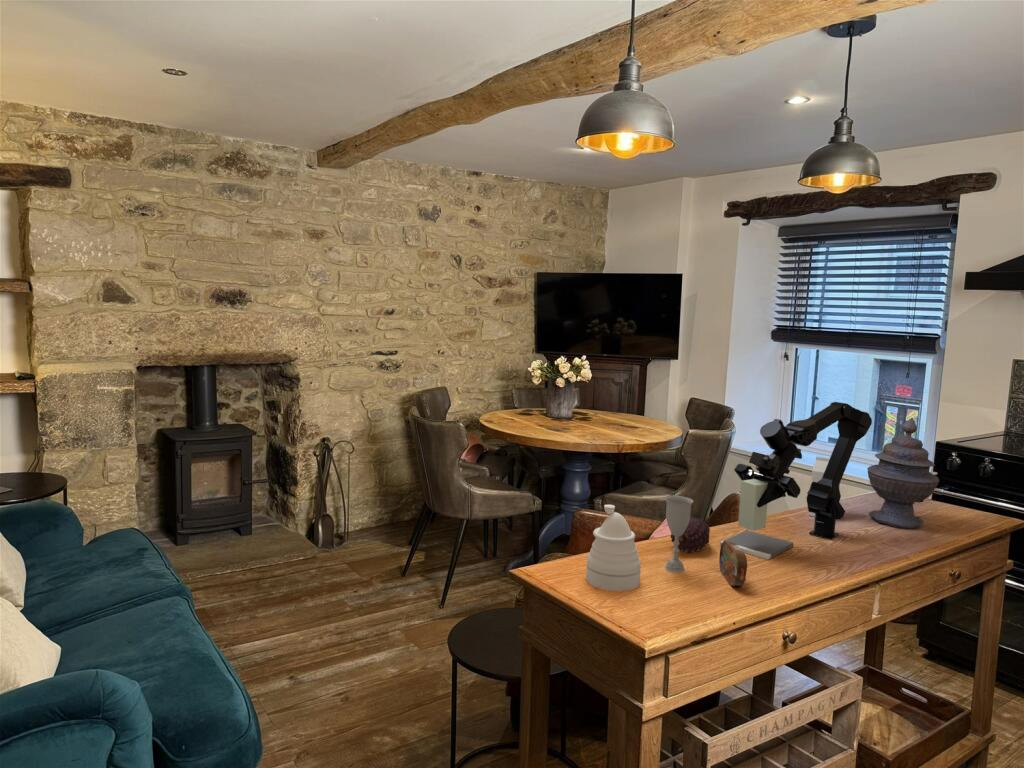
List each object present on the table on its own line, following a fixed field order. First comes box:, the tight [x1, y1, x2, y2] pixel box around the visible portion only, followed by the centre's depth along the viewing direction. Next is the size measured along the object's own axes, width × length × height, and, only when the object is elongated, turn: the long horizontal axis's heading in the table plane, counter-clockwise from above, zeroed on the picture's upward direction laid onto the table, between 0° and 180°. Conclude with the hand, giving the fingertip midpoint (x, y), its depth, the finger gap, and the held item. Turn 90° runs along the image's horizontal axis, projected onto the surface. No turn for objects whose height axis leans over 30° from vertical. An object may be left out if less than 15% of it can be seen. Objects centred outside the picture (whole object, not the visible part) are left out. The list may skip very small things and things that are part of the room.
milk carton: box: [808, 456, 841, 518], centre depth 228 cm, size 7×7×19 cm
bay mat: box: [719, 529, 794, 560], centre depth 198 cm, size 16×14×1 cm
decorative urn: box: [867, 417, 940, 529], centre depth 222 cm, size 20×20×34 cm
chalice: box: [664, 495, 694, 574], centre depth 177 cm, size 7×7×18 cm
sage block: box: [737, 479, 768, 532], centre depth 192 cm, size 5×5×12 cm
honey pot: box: [585, 504, 642, 592], centre depth 169 cm, size 13×13×18 cm
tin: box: [718, 540, 748, 587], centre depth 172 cm, size 15×3×8 cm, turn 178°
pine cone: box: [670, 516, 711, 554], centre depth 193 cm, size 18×10×10 cm
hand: (749, 503), depth 191 cm, fingers closed on sage block, 5 cm apart
